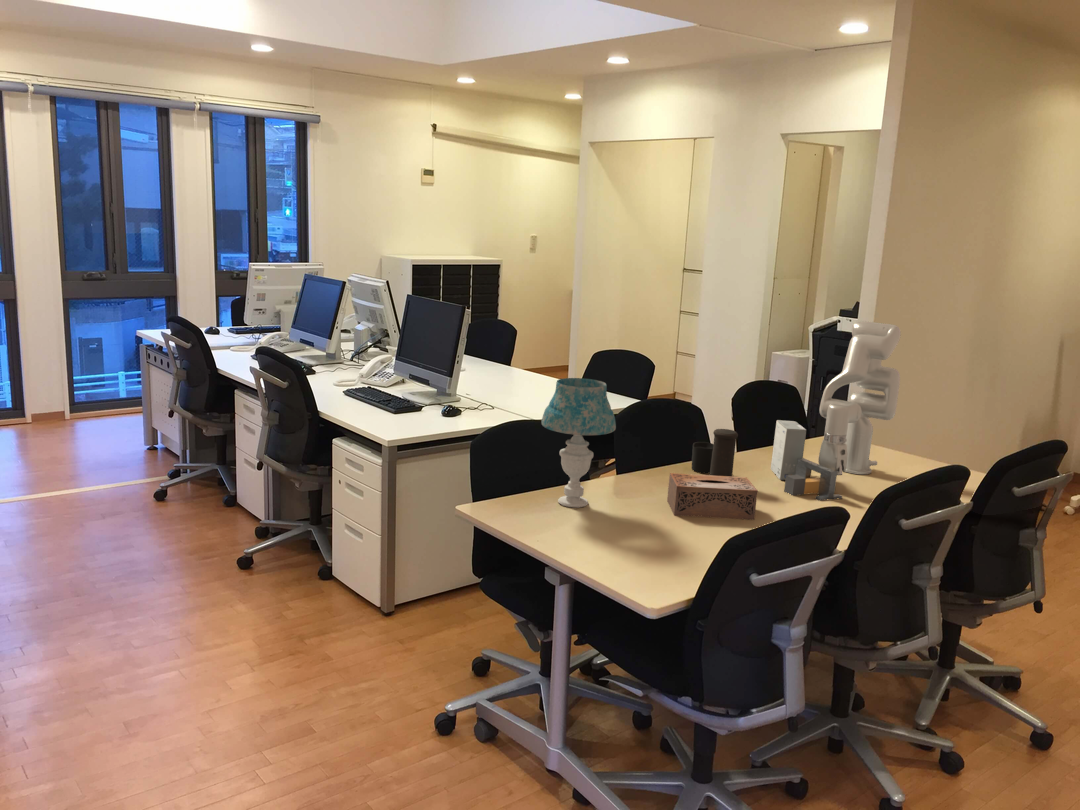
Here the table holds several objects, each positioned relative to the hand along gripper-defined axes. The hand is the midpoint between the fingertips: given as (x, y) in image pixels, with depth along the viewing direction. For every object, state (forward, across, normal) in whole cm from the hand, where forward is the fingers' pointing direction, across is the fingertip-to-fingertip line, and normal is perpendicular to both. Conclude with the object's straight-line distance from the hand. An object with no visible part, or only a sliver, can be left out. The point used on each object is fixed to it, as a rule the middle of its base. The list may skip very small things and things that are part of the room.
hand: (828, 487), depth 310 cm
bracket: (+1, 0, +7) cm, 7 cm away
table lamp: (+1, +7, +99) cm, 99 cm away
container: (+1, +16, +36) cm, 39 cm away
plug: (+1, 0, +10) cm, 10 cm away
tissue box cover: (+2, -9, +57) cm, 57 cm away
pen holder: (+2, +32, +32) cm, 46 cm away
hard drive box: (+2, +20, +4) cm, 20 cm away
